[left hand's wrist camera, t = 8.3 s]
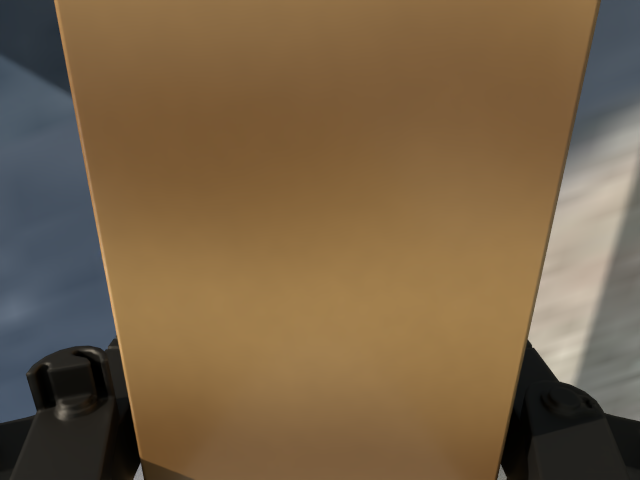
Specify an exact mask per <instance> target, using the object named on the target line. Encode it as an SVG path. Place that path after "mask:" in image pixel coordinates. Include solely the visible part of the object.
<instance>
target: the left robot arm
mask: <svg viewBox="0 0 640 480" xmlns="http://www.w3.org/2000/svg"><path fill="white" fill-rule="evenodd" d="M26 376H27V380H28V383H29V386H30V390H31V393H32V396H33V400H34V403H35V406H36V410H37V412H36V415H33V416H30V417H27V418H22V419H18V420H13V421H9V422H4V423H0V480H133V478H134V476H135V474H136V472H137V469H138V467H139V465H140V463H141V460H140V455H139V450H138V445H137V439H136V434H135V429H134V423H133V418H132V413H131V407H130V402H129V397H128V391H127V386H126V381H125V375H124V370H123V365H122V359H121V354H120V349H119V343H118V338H117V335H116V339H113V341H112V342H111V343H110V345H109V346H108V349H106V350H105V351H103V350H102V349H101V348H97V347H93V346H75V347H71V348H67V349H63V350H59V351H57V352H55V353H52V354H50V355H48V356H46V357H44V358H43V359H41V360H40V361H38V362H37V363H35V364H34V365H33V366H32V367H31V368H30V370H29V371H28V372H27V373H26ZM501 465H502V468H503V470H504V472H505V474H506V477H507V480H640V421H635V420H631V419H626V418H622V417H617V416H613V415H610V414H606V413H604V412H603V410H602V408H601V407H600V405H599V404H598V403H597V401H596V400H595V399H593V398H592V397H591V396H590V395H588V394H587V393H586V392H584V391H582V390H580V389H578V388H576V387H574V386H572V385H570V384H566V383H562V382H559V381H558V379H557V378H556V377H555V375H554V374H553V373H552V371H551V370H550V369H549V367H548V366H547V365H546V363H545V362H544V361H543V359H542V358H541V357H540V355H539V354H538V353H537V351H536V350H535V349H534V348H532V345H531V343H530V342H529V341H528V339H527V344H526V349H525V353H524V358H523V362H522V367H521V372H520V376H519V381H518V385H517V390H516V395H515V399H514V404H513V409H512V413H511V418H510V422H509V427H508V432H507V436H506V441H505V445H504V450H503V455H502V459H501Z"/></svg>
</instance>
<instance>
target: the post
mask: <svg viewBox="0 0 640 480" xmlns="http://www.w3.org/2000/svg"><path fill="white" fill-rule="evenodd" d="M54 2H55V8H56V13H57V18H58V24H59V29H60V34H61V40H62V45H63V50H64V56H65V61H66V66H67V72H68V77H69V82H70V88H71V93H72V98H73V104H74V109H75V114H76V120H77V125H78V130H79V136H80V141H81V146H82V152H83V157H84V162H85V168H86V173H87V178H88V184H89V189H90V194H91V199H92V205H93V210H94V215H95V221H96V226H97V231H98V237H99V242H100V247H101V253H102V258H103V263H104V269H105V274H106V279H107V285H108V290H109V295H110V301H111V306H112V311H113V317H114V322H115V327H116V333H117V338H118V343H119V349H120V354H121V359H122V365H123V370H124V375H125V381H126V386H127V391H128V397H129V402H130V407H131V413H132V418H133V423H134V429H135V434H136V439H137V445H138V450H139V455H140V460H141V466H142V471H143V476H144V480H497V478H498V473H499V469H500V464H501V459H502V455H503V450H504V445H505V441H506V436H507V432H508V427H509V422H510V418H511V413H512V409H513V404H514V399H515V395H516V390H517V385H518V381H519V376H520V372H521V367H522V362H523V358H524V353H525V349H526V344H527V339H528V335H529V330H530V325H531V321H532V316H533V312H534V307H535V302H536V298H537V293H538V289H539V284H540V279H541V275H542V270H543V265H544V261H545V256H546V252H547V247H548V242H549V238H550V233H551V229H552V224H553V219H554V215H555V210H556V205H557V201H558V196H559V192H560V187H561V182H562V178H563V173H564V169H565V164H566V159H567V155H568V150H569V145H570V141H571V136H572V132H573V127H574V122H575V118H576V113H577V109H578V104H579V99H580V95H581V90H582V85H583V81H584V76H585V72H586V67H587V62H588V58H589V53H590V49H591V44H592V39H593V35H594V30H595V26H596V21H597V16H598V12H599V7H600V2H601V0H54Z"/></svg>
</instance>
